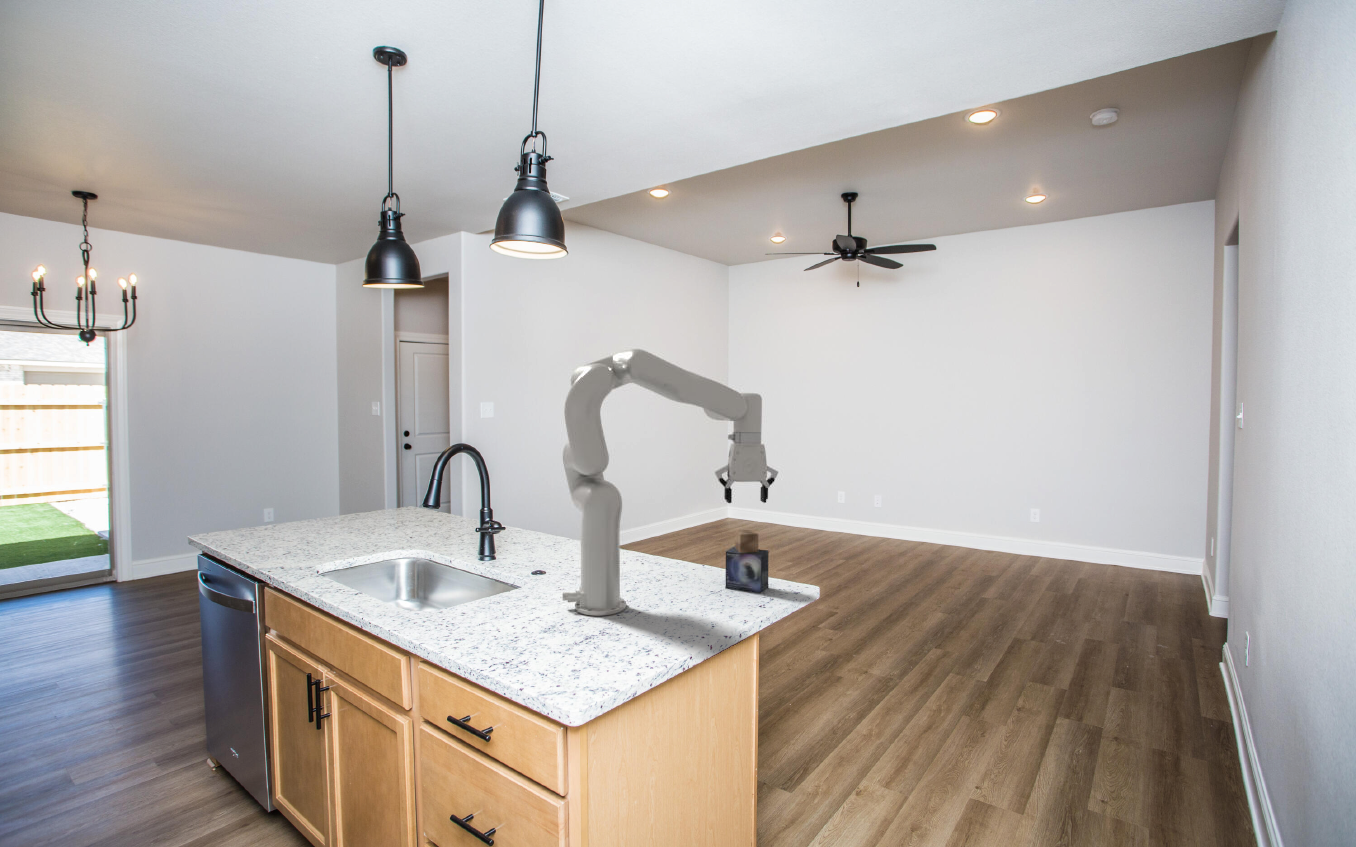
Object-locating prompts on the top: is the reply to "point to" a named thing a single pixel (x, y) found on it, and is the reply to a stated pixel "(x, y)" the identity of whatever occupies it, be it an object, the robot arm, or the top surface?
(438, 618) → the top surface
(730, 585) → the small box
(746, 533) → the walnut cube
